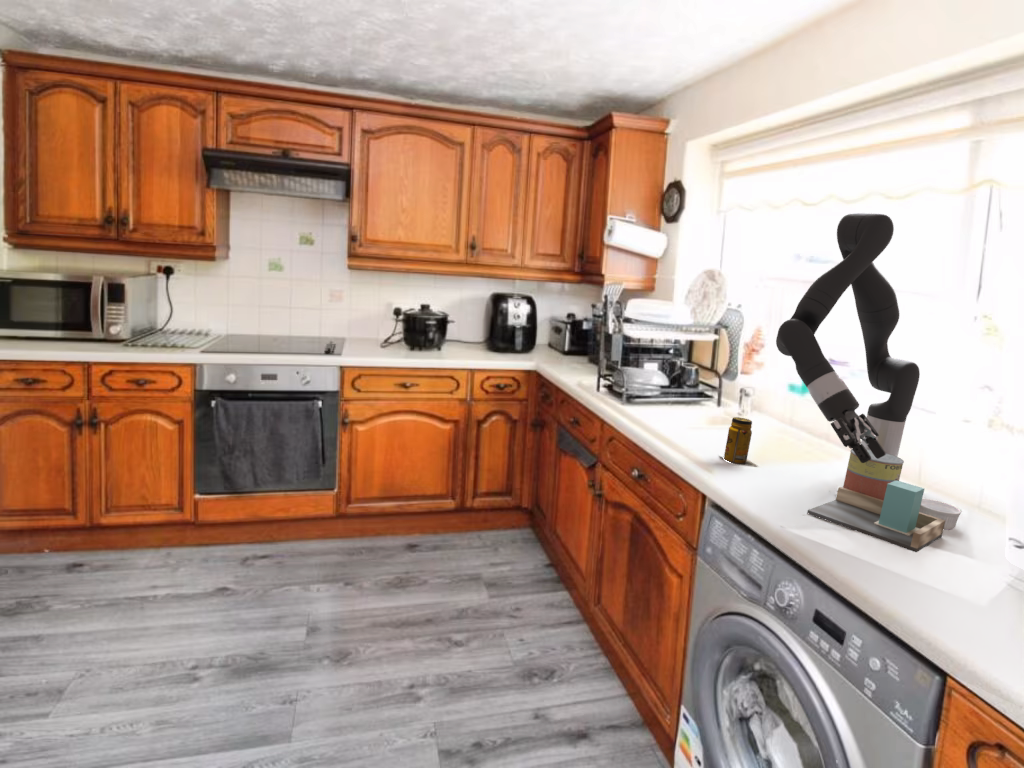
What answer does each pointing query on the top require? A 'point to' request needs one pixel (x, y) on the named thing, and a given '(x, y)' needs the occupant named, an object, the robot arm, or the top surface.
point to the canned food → (872, 474)
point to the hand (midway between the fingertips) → (874, 459)
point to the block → (901, 506)
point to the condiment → (739, 442)
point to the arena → (877, 520)
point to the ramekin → (941, 512)
